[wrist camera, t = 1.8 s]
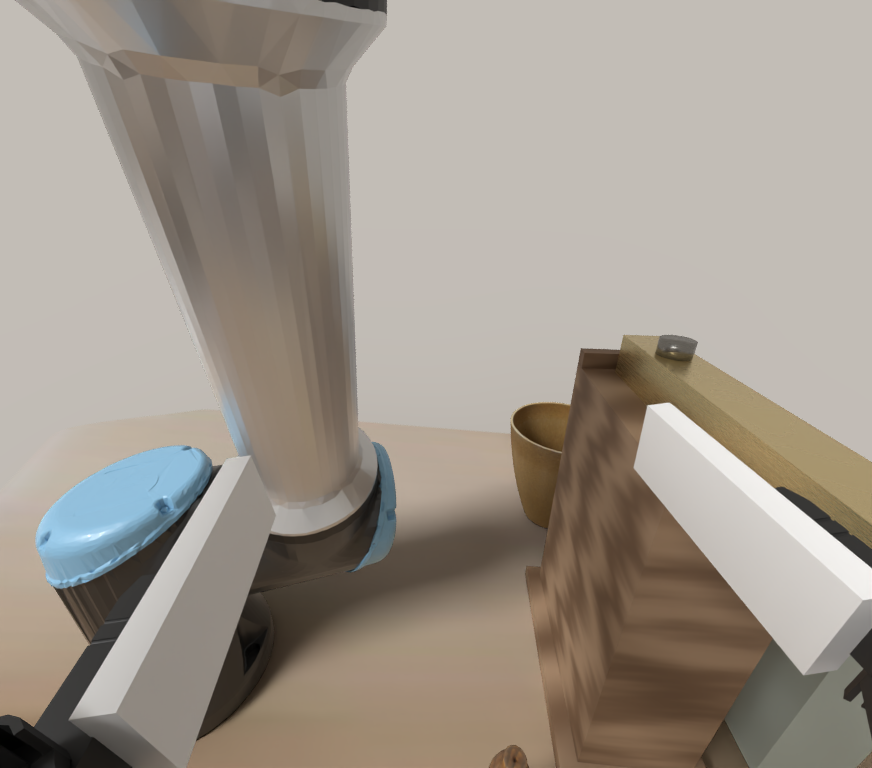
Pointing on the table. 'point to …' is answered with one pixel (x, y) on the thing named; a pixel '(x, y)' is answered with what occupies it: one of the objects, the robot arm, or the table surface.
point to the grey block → (799, 716)
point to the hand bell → (510, 758)
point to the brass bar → (752, 428)
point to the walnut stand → (629, 602)
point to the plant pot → (538, 455)
